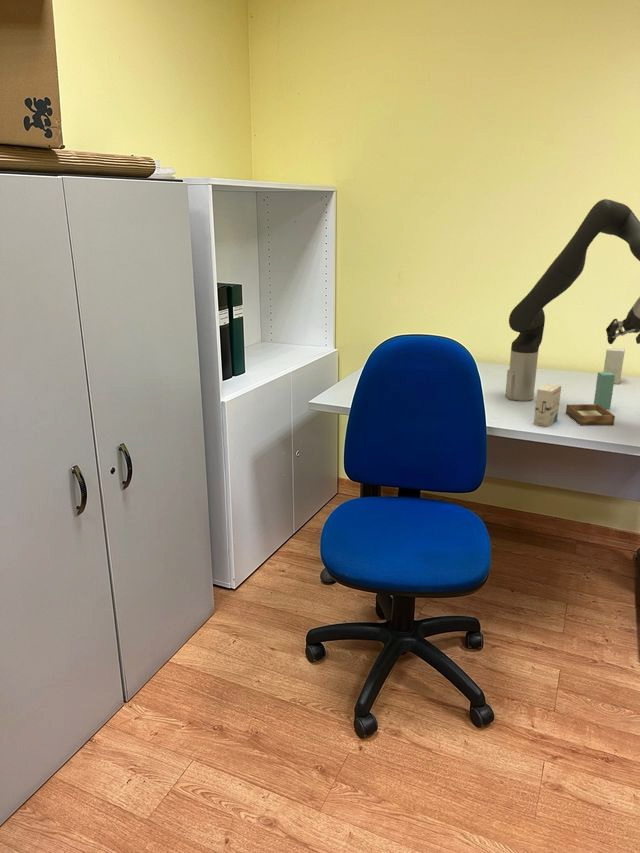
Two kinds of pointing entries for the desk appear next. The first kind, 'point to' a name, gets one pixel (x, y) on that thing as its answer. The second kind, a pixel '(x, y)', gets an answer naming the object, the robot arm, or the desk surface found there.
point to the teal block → (604, 389)
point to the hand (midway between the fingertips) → (623, 341)
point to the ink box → (547, 404)
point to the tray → (590, 414)
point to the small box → (614, 362)
